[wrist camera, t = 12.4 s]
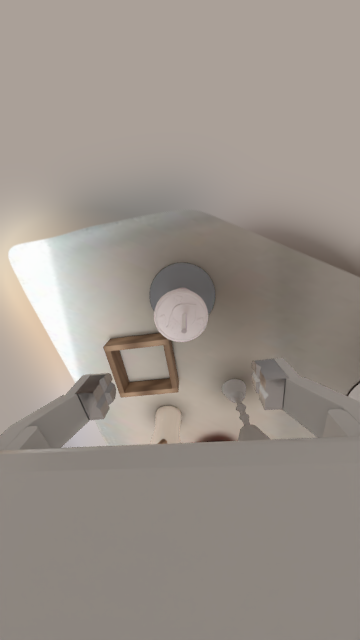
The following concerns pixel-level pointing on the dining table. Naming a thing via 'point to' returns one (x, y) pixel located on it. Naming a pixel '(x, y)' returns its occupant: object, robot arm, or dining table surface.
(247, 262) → the dining table surface
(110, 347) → the wooden serving tray
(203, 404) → the dining table surface
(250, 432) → the chalice
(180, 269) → the disc
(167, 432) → the beer glass
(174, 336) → the smoothie
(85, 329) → the dining table surface
